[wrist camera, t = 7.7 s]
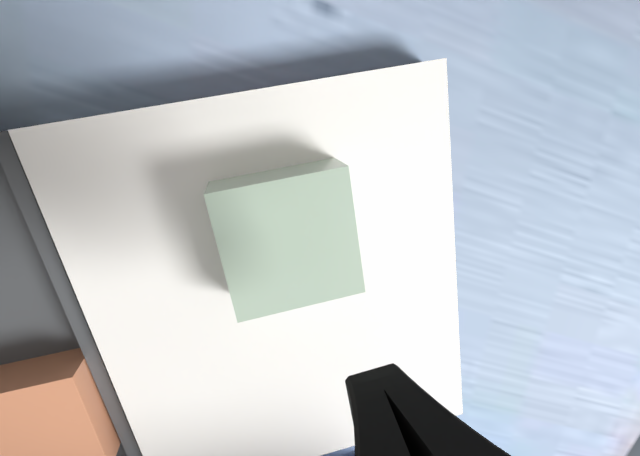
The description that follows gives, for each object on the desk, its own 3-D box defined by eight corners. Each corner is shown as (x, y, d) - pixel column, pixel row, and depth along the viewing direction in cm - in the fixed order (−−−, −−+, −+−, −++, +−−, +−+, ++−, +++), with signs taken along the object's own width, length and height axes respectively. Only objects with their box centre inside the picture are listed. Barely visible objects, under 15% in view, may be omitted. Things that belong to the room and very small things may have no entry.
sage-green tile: (350, 269, 17) (365, 291, 15) (238, 295, 17) (237, 322, 15) (334, 157, 16) (348, 165, 14) (208, 181, 15) (203, 194, 13)
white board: (444, 388, 23) (462, 413, 21) (168, 466, 21) (161, 502, 19) (423, 63, 17) (446, 57, 15) (36, 126, 15) (7, 130, 13)
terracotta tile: (124, 430, 19) (111, 469, 17) (15, 457, 19) (-13, 501, 17) (92, 345, 18) (72, 377, 16) (-30, 371, 17) (-67, 408, 15)
